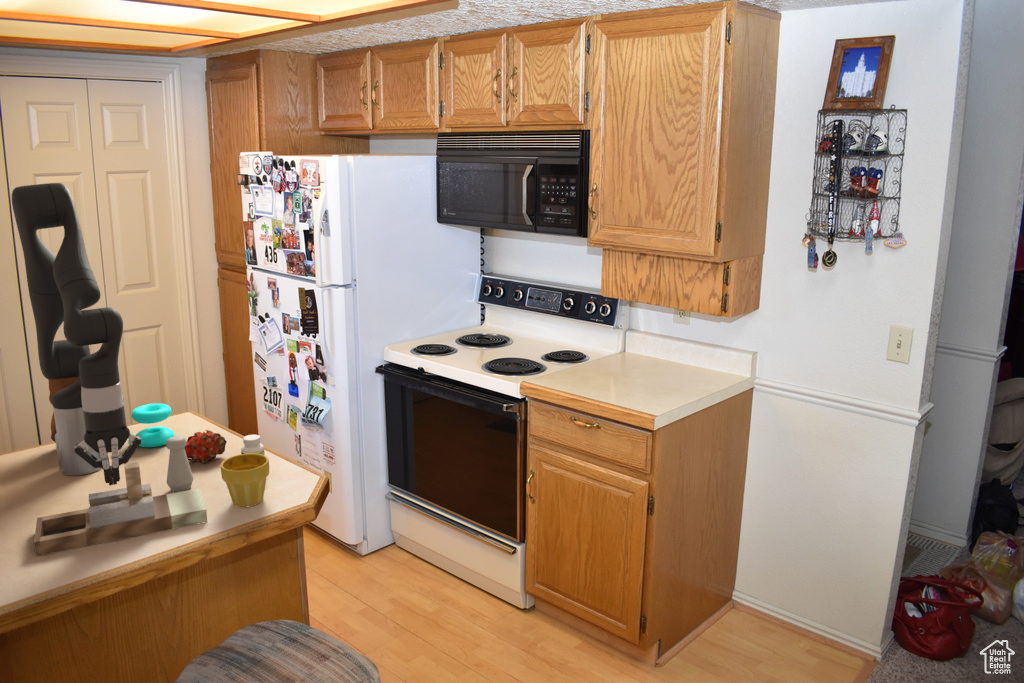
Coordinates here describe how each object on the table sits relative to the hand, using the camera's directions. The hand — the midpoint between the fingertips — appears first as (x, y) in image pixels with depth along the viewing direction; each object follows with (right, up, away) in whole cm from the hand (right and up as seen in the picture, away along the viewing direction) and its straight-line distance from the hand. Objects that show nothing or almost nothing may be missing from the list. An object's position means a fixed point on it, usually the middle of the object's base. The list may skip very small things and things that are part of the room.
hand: (113, 483), depth 165 cm
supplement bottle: (+20, -3, +30) cm, 36 cm away
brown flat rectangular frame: (+1, -10, +3) cm, 10 cm away
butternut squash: (-32, +1, +46) cm, 56 cm away
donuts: (-15, +2, +51) cm, 53 cm away
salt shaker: (+5, -5, +21) cm, 23 cm away
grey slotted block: (+1, -7, +2) cm, 7 cm away
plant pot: (+23, -7, +15) cm, 29 cm away
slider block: (+3, -7, +3) cm, 8 cm away
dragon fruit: (+4, -1, +39) cm, 39 cm away
